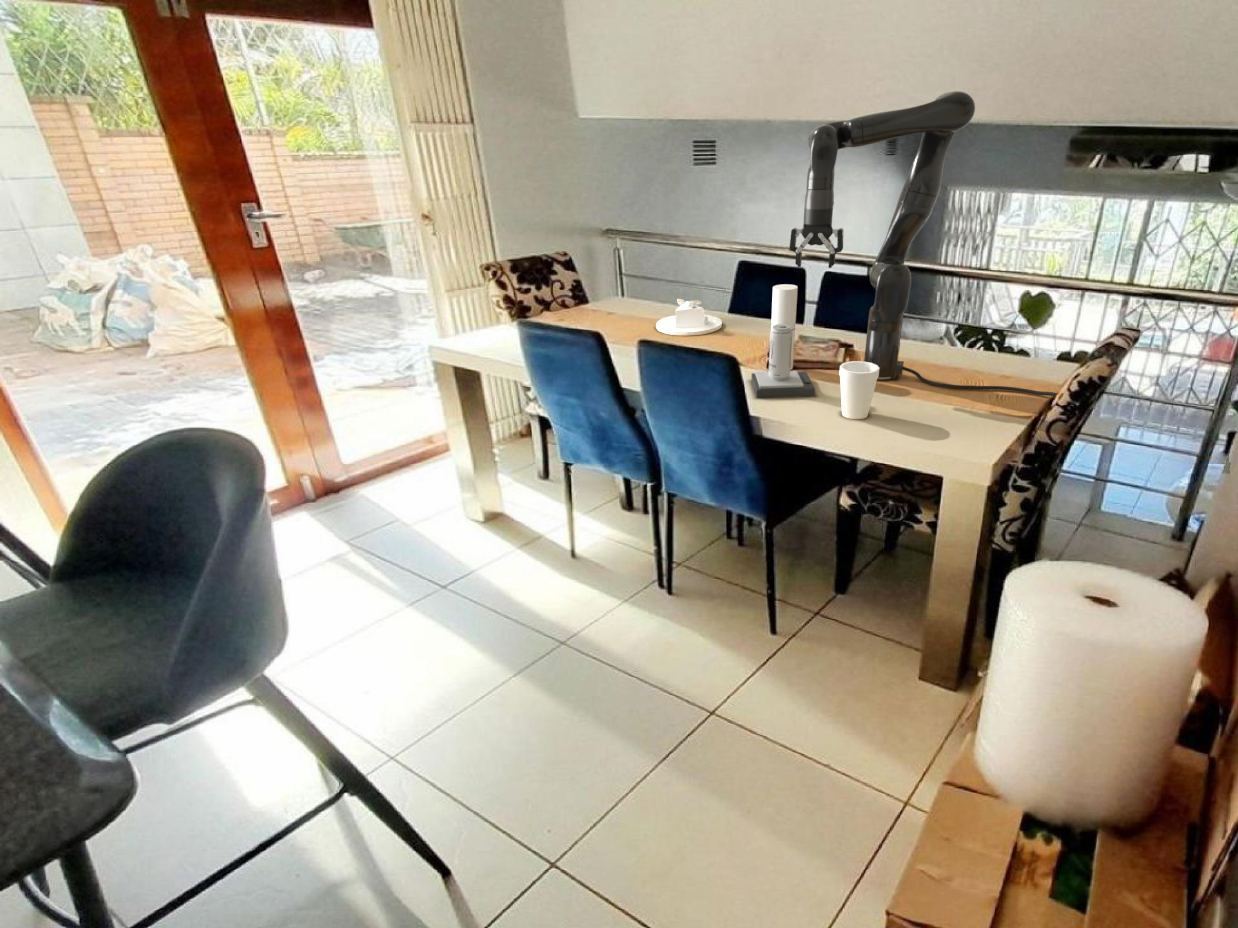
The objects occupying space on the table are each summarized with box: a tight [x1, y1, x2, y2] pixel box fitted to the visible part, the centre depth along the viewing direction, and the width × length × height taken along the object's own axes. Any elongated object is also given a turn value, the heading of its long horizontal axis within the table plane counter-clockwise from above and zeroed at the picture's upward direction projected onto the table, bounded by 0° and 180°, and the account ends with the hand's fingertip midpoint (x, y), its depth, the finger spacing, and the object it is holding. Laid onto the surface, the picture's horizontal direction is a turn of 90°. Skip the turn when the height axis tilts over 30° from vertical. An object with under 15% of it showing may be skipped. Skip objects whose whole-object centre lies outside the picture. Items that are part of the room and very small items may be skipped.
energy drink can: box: [768, 325, 792, 381], centre depth 199 cm, size 6×6×15 cm
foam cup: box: [839, 360, 879, 420], centre depth 181 cm, size 10×9×13 cm
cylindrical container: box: [770, 283, 799, 371], centre depth 214 cm, size 7×7×25 cm
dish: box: [655, 298, 723, 337], centre depth 264 cm, size 25×25×11 cm
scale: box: [750, 370, 816, 399], centre depth 203 cm, size 16×14×3 cm
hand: (814, 267), depth 198 cm, fingers open, 8 cm apart
